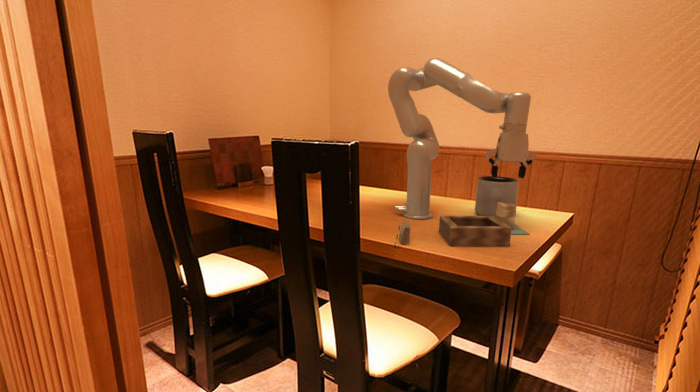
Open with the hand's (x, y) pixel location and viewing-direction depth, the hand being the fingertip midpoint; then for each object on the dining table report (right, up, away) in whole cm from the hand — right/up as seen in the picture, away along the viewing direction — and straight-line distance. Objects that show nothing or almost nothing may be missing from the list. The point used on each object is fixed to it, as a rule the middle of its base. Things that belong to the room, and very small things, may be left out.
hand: (507, 177), depth 133 cm
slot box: (-16, -21, -8) cm, 28 cm away
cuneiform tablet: (-40, -22, -12) cm, 47 cm away
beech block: (0, -19, +4) cm, 19 cm away
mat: (0, -19, +4) cm, 19 cm away
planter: (+4, -15, +23) cm, 28 cm away
